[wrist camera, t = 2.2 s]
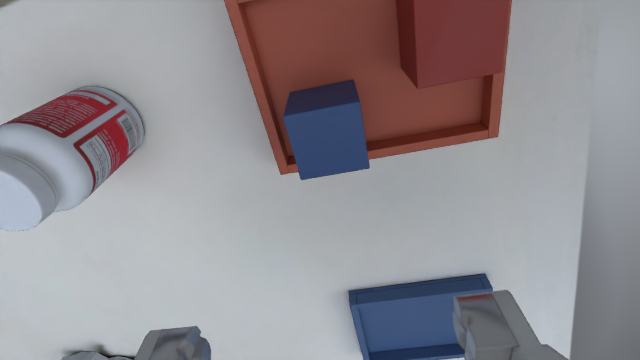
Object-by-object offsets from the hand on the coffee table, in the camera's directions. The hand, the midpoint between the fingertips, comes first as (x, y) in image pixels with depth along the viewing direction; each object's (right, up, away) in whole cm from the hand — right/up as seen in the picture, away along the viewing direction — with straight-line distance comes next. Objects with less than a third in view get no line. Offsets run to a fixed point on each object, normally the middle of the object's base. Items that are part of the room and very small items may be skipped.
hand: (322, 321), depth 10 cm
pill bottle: (-18, +10, +17) cm, 26 cm away
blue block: (0, +10, +16) cm, 18 cm away
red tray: (+4, +13, +14) cm, 20 cm away
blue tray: (+12, -13, +31) cm, 35 cm away
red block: (+8, +15, +12) cm, 21 cm away
